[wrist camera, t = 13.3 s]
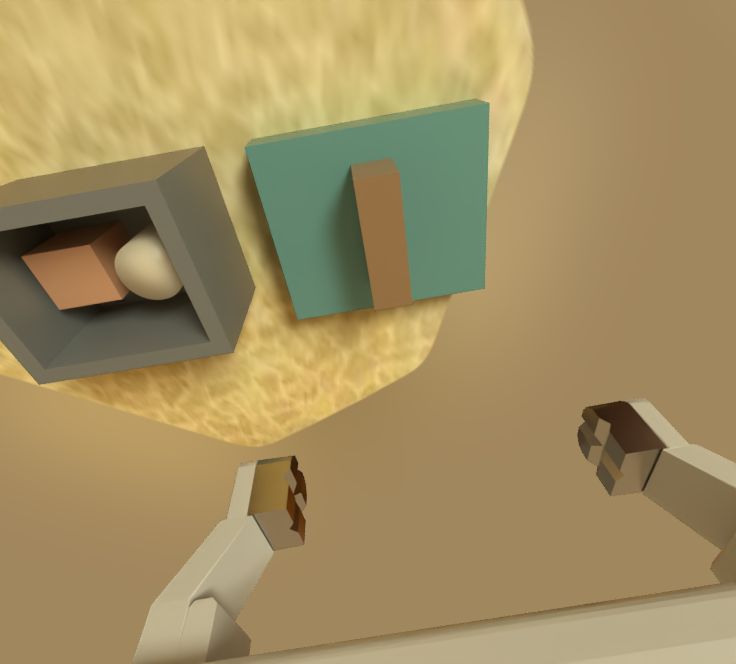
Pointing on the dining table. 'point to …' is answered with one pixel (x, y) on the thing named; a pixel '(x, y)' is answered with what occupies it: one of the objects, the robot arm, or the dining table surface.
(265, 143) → the lid
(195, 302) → the storage box
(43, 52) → the dining table surface
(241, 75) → the dining table surface
